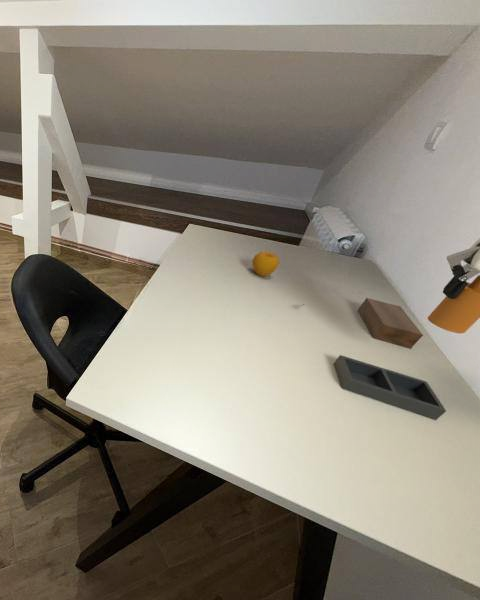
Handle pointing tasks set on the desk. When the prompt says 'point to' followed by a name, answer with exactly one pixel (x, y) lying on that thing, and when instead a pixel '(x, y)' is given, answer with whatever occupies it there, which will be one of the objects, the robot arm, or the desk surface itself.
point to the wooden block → (389, 323)
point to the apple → (265, 263)
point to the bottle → (459, 309)
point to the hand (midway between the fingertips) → (469, 299)
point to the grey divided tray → (388, 387)
